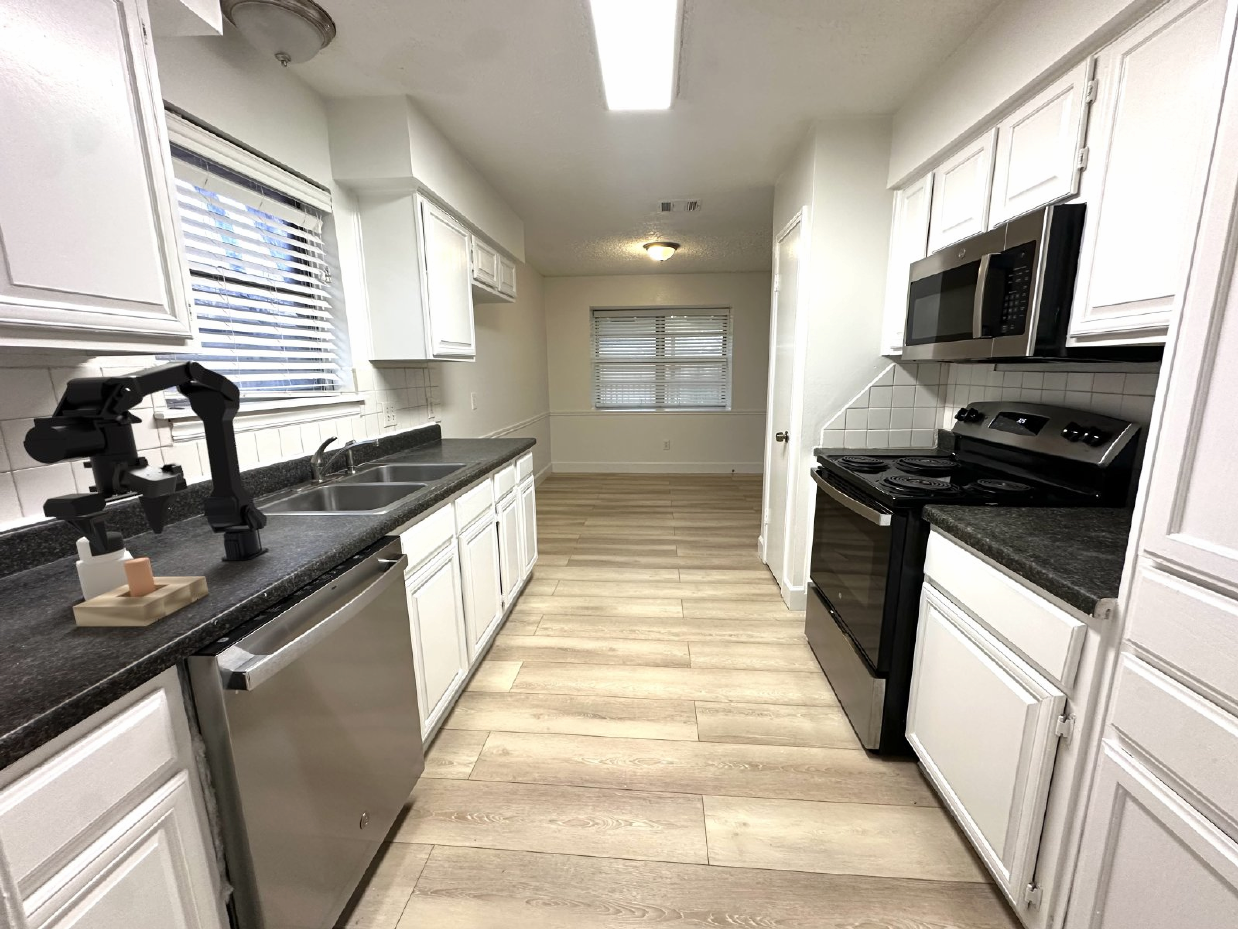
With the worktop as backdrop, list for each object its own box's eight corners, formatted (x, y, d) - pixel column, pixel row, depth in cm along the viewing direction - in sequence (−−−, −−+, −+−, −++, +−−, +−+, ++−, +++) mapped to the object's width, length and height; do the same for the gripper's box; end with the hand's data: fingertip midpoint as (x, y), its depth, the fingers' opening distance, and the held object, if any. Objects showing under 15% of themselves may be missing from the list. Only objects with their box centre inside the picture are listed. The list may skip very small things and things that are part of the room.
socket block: (147, 594, 94) (144, 577, 93) (208, 593, 93) (205, 576, 93) (77, 626, 82) (72, 606, 81) (146, 626, 82) (142, 606, 81)
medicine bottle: (135, 583, 99) (122, 526, 97) (141, 593, 95) (128, 533, 92) (83, 596, 94) (69, 536, 92) (87, 607, 89) (72, 543, 87)
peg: (147, 605, 89) (136, 557, 88) (164, 604, 89) (154, 557, 88) (129, 613, 86) (118, 564, 85) (146, 613, 86) (136, 564, 84)
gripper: (99, 462, 73) (121, 562, 76) (207, 444, 92) (222, 525, 94) (28, 463, 74) (53, 563, 77) (150, 445, 92) (166, 526, 95)
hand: (133, 542), depth 86 cm, fingers open, 9 cm apart
